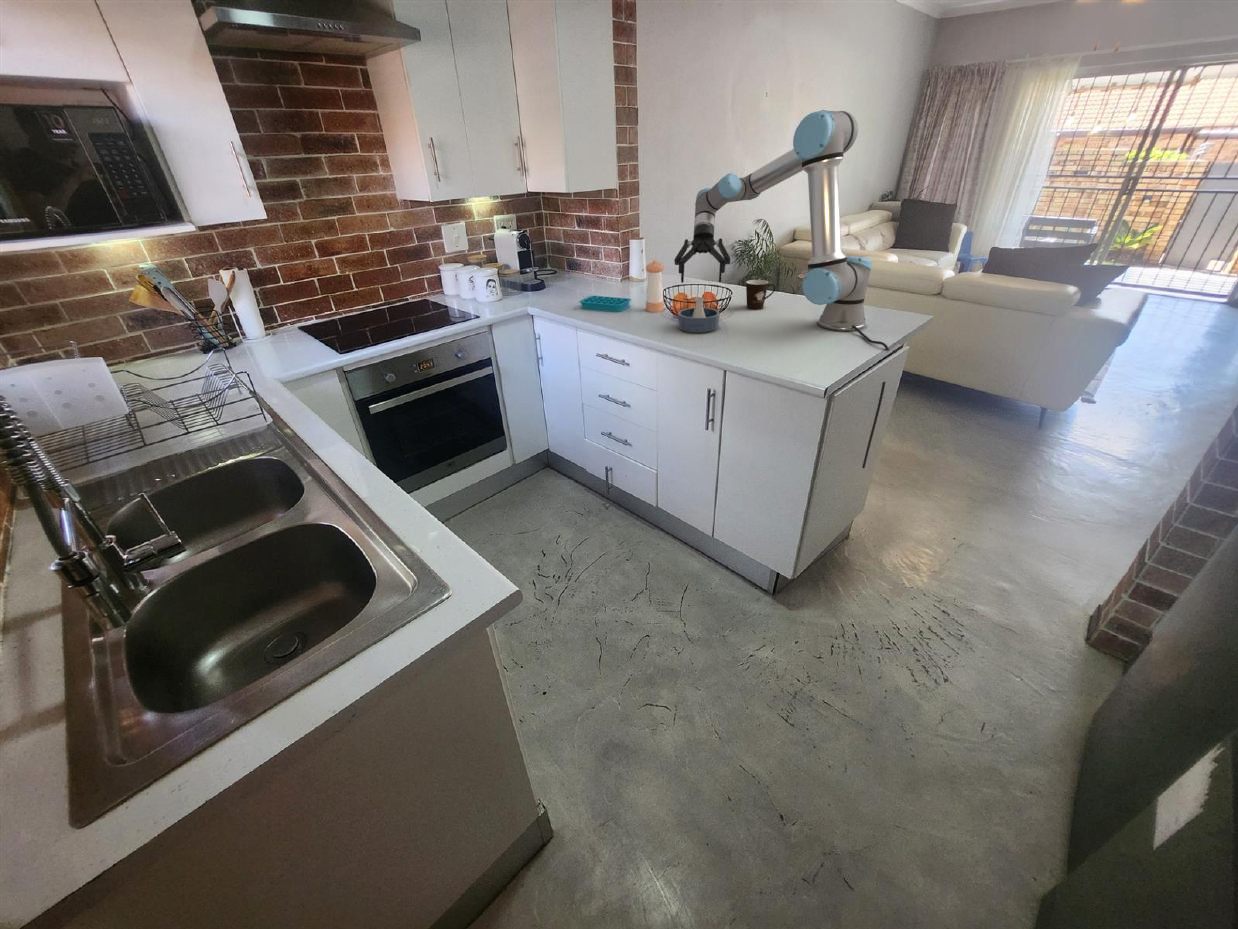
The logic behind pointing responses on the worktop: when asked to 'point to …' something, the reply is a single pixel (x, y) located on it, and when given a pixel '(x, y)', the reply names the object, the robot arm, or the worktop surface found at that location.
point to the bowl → (698, 321)
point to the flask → (698, 308)
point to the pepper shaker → (654, 287)
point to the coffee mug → (757, 293)
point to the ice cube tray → (605, 303)
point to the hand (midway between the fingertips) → (700, 280)
